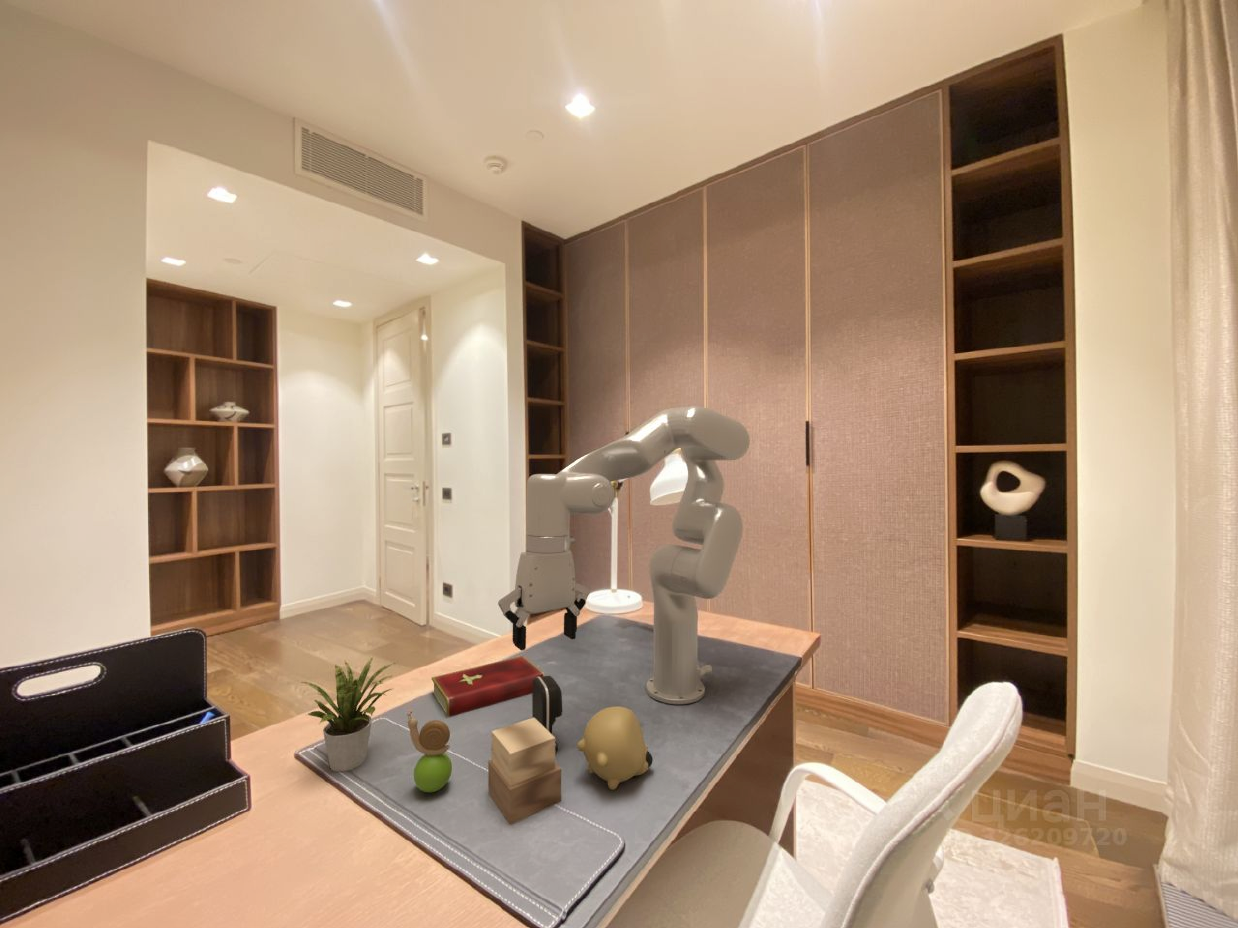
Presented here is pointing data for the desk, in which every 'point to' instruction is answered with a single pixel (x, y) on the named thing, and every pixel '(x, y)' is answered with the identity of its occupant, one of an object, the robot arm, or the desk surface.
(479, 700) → the hardcover book
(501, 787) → the walnut block
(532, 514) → the robot arm
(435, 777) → the snail figurine
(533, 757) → the oak block
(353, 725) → the house plant
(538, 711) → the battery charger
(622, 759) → the toy pig
